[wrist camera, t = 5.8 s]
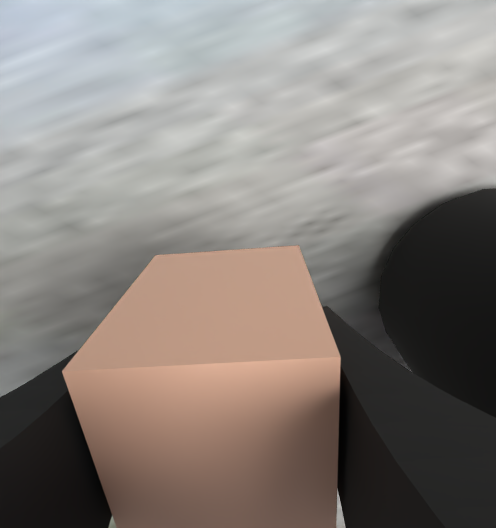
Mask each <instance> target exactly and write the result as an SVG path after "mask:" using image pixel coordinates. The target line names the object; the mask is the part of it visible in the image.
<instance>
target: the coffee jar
mask: <svg viewBox="0 0 496 528" xmlns="http://www.w3.org/2000/svg"><path fill="white" fill-rule="evenodd" d="M379 310H380V313H381V316H382V320H383V323H384V326H385V330H386V332H387V334H388V335H389V337H390V338H391V340H392V341H393V343H394V344H395V346H396V348H397V349H398V351H399V352H400V354H401V355H402V357H403V358H404V360H405V361H406V363H407V364H408V366H409V368H410V369H411V371H412V372H413V373H414V374H415V375H417V376H419V377H420V378H422V379H424V380H426V381H427V382H429V383H431V384H432V385H434V386H436V387H437V388H439V389H441V390H442V391H444V392H446V393H448V394H450V395H452V396H453V397H455V398H457V399H459V400H461V401H463V402H465V403H467V404H469V405H471V406H473V407H475V408H477V409H479V410H481V411H483V412H485V413H487V414H489V415H491V416H493V417H495V418H496V189H482V190H480V191H477V192H474V193H471V194H469V195H466V196H463V197H460V198H458V199H455V200H452V201H449V202H447V203H444V204H442V205H441V206H439V207H438V208H436V209H435V210H434V211H432V212H431V213H429V214H428V215H426V216H425V217H424V218H422V219H421V220H419V221H418V222H416V223H415V224H414V225H413V226H412V227H411V229H410V230H409V231H408V232H407V233H406V235H405V236H404V237H403V238H402V239H401V241H400V242H399V243H398V244H397V245H396V247H395V248H394V249H393V251H392V253H391V256H390V258H389V260H388V262H387V265H386V267H385V269H384V272H383V274H382V276H381V286H380V299H379Z"/></svg>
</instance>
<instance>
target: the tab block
mask: <svg viewBox="0 0 496 528" xmlns="http://www.w3.org/2000/svg"><path fill="white" fill-rule="evenodd" d="M340 361H341V357H340V354H339V351H338V349H337V346H336V343H335V341H334V338H333V335H332V333H331V330H330V327H329V325H328V322H327V319H326V317H325V314H324V311H323V309H322V306H321V303H320V301H319V298H318V295H317V293H316V290H315V287H314V285H313V282H312V279H311V277H310V274H309V271H308V269H307V266H306V263H305V261H304V258H303V255H302V253H301V250H300V247H299V245H296V246H281V247H267V248H252V249H238V250H223V251H209V252H194V253H180V254H165V255H155V256H154V258H153V259H152V260H151V261H150V263H149V264H148V265H147V266H146V268H145V269H144V270H143V271H142V273H141V274H140V275H139V276H138V278H137V279H136V280H135V281H134V283H133V284H132V285H131V286H130V288H129V289H128V290H127V291H126V292H125V294H124V295H123V296H122V297H121V299H120V300H119V301H118V302H117V304H116V305H115V306H114V307H113V309H112V310H111V311H110V312H109V314H108V315H107V316H106V317H105V319H104V320H103V321H102V322H101V324H100V325H99V326H98V327H97V328H96V330H95V331H94V332H93V333H92V335H91V336H90V337H89V338H88V340H87V341H86V342H85V343H84V345H83V346H82V347H81V348H80V350H79V351H78V352H77V353H76V355H75V356H74V357H73V358H72V360H71V361H70V362H69V363H68V364H67V366H66V367H65V368H64V369H63V371H62V373H63V376H64V379H65V382H66V384H67V387H68V390H69V393H70V396H71V399H72V402H73V404H74V407H75V410H76V413H77V416H78V419H79V422H80V424H81V427H82V430H83V433H84V436H85V439H86V442H87V444H88V447H89V450H90V453H91V456H92V459H93V462H94V464H95V467H96V470H97V473H98V476H99V479H100V482H101V484H102V487H103V490H104V493H105V496H106V499H107V502H108V504H109V507H110V510H111V513H112V516H113V519H114V522H115V524H116V527H117V528H336V514H337V476H338V438H339V400H340Z"/></svg>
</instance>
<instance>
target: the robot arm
mask: <svg viewBox="0 0 496 528" xmlns="http://www.w3.org/2000/svg"><path fill="white" fill-rule="evenodd" d="M322 309H323V311H324V314H325V317H326V319H327V322H328V325H329V327H330V330H331V333H332V335H333V338H334V341H335V343H336V346H337V349H338V351H339V354H340V357H341V361H340V400H339V438H338V476H337V488H338V492H339V496H340V501H341V506H342V511H343V516H344V521H345V526H346V528H496V418H495V417H493V416H491V415H489V414H487V413H485V412H483V411H481V410H479V409H477V408H475V407H473V406H471V405H469V404H467V403H465V402H463V401H461V400H459V399H457V398H455V397H453V396H452V395H450V394H448V393H446V392H444V391H442V390H441V389H439V388H437V387H436V386H434V385H432V384H431V383H429V382H427V381H426V380H424V379H422V378H420V377H419V376H417V375H415V374H414V373H412V372H411V371H409V370H408V369H406V368H404V367H403V366H401V365H400V364H399V363H397V362H396V361H394V360H393V359H391V358H390V357H389V356H387V355H386V354H384V353H383V352H382V351H380V350H379V349H378V348H376V347H375V346H374V345H372V344H371V343H370V342H368V341H367V340H366V339H365V338H363V337H362V336H361V335H360V334H359V333H357V332H356V331H355V330H354V329H353V328H351V327H350V326H349V325H348V324H347V323H346V322H344V321H343V320H342V319H341V318H340V317H339V316H338V315H337V314H335V313H334V312H333V311H332V310H331V309H330V308H329V307H327V306H324V307H322ZM79 350H80V349H79ZM79 350H78V351H79ZM78 351H76V352H75V353H73V354H72V355H70V356H69V357H67V358H66V359H64V360H62V361H61V362H59V363H58V364H56V365H54V366H53V367H51V368H50V369H48V370H46V371H45V372H43V373H42V374H40V375H38V376H37V377H35V378H34V379H32V380H30V381H29V382H27V383H25V384H24V385H22V386H20V387H18V388H17V389H15V390H13V391H11V392H9V393H8V394H6V395H4V396H2V397H0V528H109V524H110V521H111V517H112V513H111V510H110V507H109V504H108V502H107V499H106V496H105V493H104V490H103V487H102V484H101V482H100V479H99V476H98V473H97V470H96V467H95V464H94V462H93V459H92V456H91V453H90V450H89V447H88V444H87V442H86V439H85V436H84V433H83V430H82V427H81V424H80V422H79V419H78V416H77V413H76V410H75V407H74V404H73V402H72V399H71V396H70V393H69V390H68V387H67V384H66V382H65V379H64V376H63V373H62V371H63V369H64V368H65V367H66V366H67V364H68V363H69V362H70V361H71V360H72V358H73V357H74V356H75V355H76V353H77V352H78Z"/></svg>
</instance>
